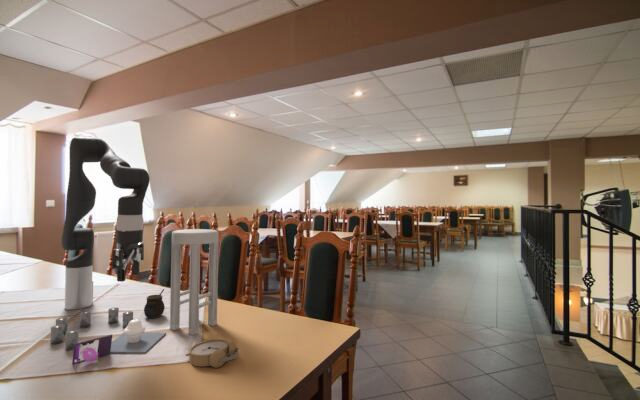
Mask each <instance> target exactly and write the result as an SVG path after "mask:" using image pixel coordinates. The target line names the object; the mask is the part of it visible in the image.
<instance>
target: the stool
mask: <svg viewBox="0 0 640 400" xmlns="http://www.w3.org/2000/svg"><path fill="white" fill-rule="evenodd" d="M219 236H220V235H219V231H218V229H209V228H208V229H206V228H192V229H191V228H190V229H189V228H188V229H177V230H173V231H172V232H171V246H170V247H171V250H170V251H171V253H170V255H171V257H170V258H171V259H170V299H169V300H170V303H169V304H170V306H169V307H170V309H169V313H170V314H169V330H171V331H175V330H178V329H180V326H181V325H180V324H181V323H180V318H181V317H180V316H181V305H183V304H187V303H188V330H187V332H188V335H192V336H194V335H197V334H199V320H200V309H201V308H203V307H204V308H205V307H206V306H208V307H207V326H212V327H213V326H215V325H217V324H218V288H219V286H218V283H219V280H218V277H219ZM207 244H209V247H208V248H209V251H208V252H209V253H208V256H209V257H208V292H205V293H202V294H200V284H201V283H200V282H201V281H200V278H201V276H200V274H201V273H200V272H201V271H200V270H201V268H200V267H201V245H207ZM182 245H189V283H188V284H189V286H188V287H189V288H188V289H186V290H183V291H181V272H182V271H181V269H182V267H181V266H182V264H181V263H182ZM186 295H188V297H187V298H184V299H181V297H183V296H186ZM205 298H207V299H208V300H206V301H203V302H201V303H200V300H202V299H205Z"/></svg>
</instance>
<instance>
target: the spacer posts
mask: <svg viewBox="0 0 640 400" xmlns="http://www.w3.org/2000/svg"><path fill="white" fill-rule="evenodd" d="M119 309H120V308H119V307H110V308H108V313H107V315H108V317H107V318H108V319H107V320H108V321H107V323H108V325H113V324H118V323H119V316H120V315H119ZM131 320H134V311H133V310H128V311H124V312H123V313H122V329H125V328H126V327H127V326H128V323H129V322H130V321H131ZM68 323H69V318H68V317H67V316H66V317H64V316H63V317H58V318H56V319H55V325H52V326H50V345H58V344H62V343H63V342H64V343H65V345H64V346H65V347H64V349H65V351H74V344H75V343H79V336H80V332H79V329H71V330H68V329H69V328H68V325H69V324H68ZM91 325H92V311H91V310H85V311H82V312H80V313H79V328H80V329H86V328H90V327H91ZM64 337H65V340H64Z"/></svg>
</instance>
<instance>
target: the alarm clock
mask: <svg viewBox="0 0 640 400" xmlns="http://www.w3.org/2000/svg"><path fill="white" fill-rule="evenodd" d="M188 350H189V351H188V353H186V354H185V357H189V364H190V365H192V366H194V367H212V368H215V369H218V368H220V367H222V366H223V365H224V364H225V363H226V362H228V361H232V360H234V359H236V358H237V357H238V356H239V347H238V346H237V344H236V342H235V341H233V340H232V341H228V340H227V339H221V338H217V339H213V338H212V339H209V340H204V341H200V342H198V343H196V344H193V346H192V345H191V347H190V348H189V349H188Z"/></svg>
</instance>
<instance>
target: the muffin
mask: <svg viewBox="0 0 640 400" xmlns="http://www.w3.org/2000/svg"><path fill="white" fill-rule="evenodd" d="M145 326H146V325H143V323H142V322H141V320H140V319H134V318H133V320H131V321H130V322H129V323H128V326H127V327H126V328H123V333H124V336H125V337H126V339H127V341H128V342H129V343H136V342H138V341H140V339H141V337H142V336H143V334H144V333H145V331H146V327H145ZM123 333H122V334H123Z"/></svg>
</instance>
